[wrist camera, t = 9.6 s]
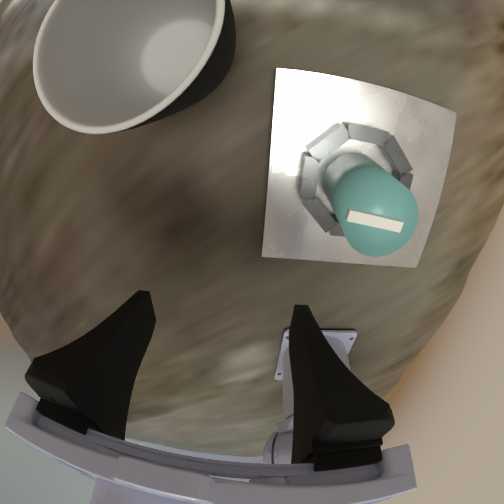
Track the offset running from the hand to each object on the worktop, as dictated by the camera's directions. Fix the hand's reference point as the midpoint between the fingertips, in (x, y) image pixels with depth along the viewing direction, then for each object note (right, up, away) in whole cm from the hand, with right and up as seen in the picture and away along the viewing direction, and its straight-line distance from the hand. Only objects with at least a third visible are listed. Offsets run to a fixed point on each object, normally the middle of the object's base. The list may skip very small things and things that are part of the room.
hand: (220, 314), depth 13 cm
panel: (+10, +9, +6) cm, 14 cm away
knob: (+9, +8, +5) cm, 13 cm away
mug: (-5, +17, +2) cm, 18 cm away
